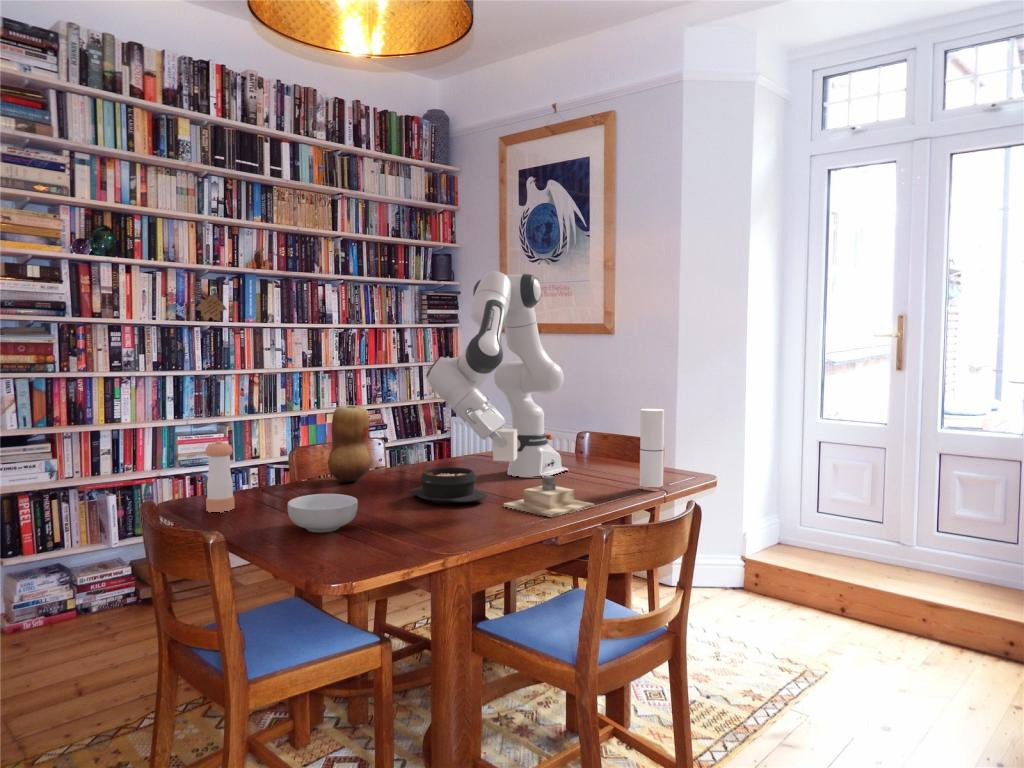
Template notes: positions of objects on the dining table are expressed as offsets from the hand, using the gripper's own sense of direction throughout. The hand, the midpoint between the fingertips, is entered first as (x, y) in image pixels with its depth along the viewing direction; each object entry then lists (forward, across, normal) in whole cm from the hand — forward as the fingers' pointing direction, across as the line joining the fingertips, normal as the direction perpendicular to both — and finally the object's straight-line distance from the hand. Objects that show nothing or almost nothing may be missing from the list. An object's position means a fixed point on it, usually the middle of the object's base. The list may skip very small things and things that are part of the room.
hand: (507, 443), depth 203 cm
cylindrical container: (+41, +37, -14) cm, 57 cm away
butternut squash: (-28, +30, +55) cm, 69 cm away
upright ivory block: (+3, 0, +4) cm, 4 cm away
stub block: (+21, +7, +6) cm, 23 cm away
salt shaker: (-42, -14, +68) cm, 81 cm away
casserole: (0, +11, +28) cm, 29 cm away
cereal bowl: (-16, -26, +43) cm, 53 cm away
